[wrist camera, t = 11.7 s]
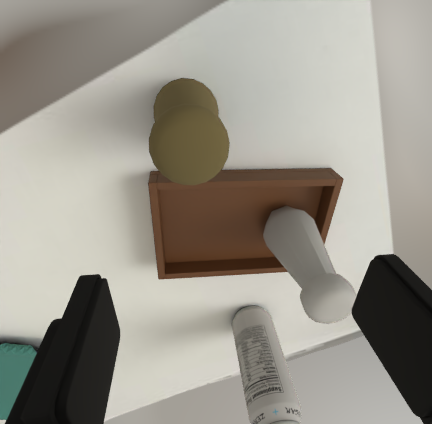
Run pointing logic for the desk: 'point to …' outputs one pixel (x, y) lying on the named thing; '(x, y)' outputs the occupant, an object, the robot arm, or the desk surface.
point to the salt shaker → (309, 265)
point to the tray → (232, 218)
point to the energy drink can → (264, 369)
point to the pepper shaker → (187, 133)
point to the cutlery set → (13, 373)
